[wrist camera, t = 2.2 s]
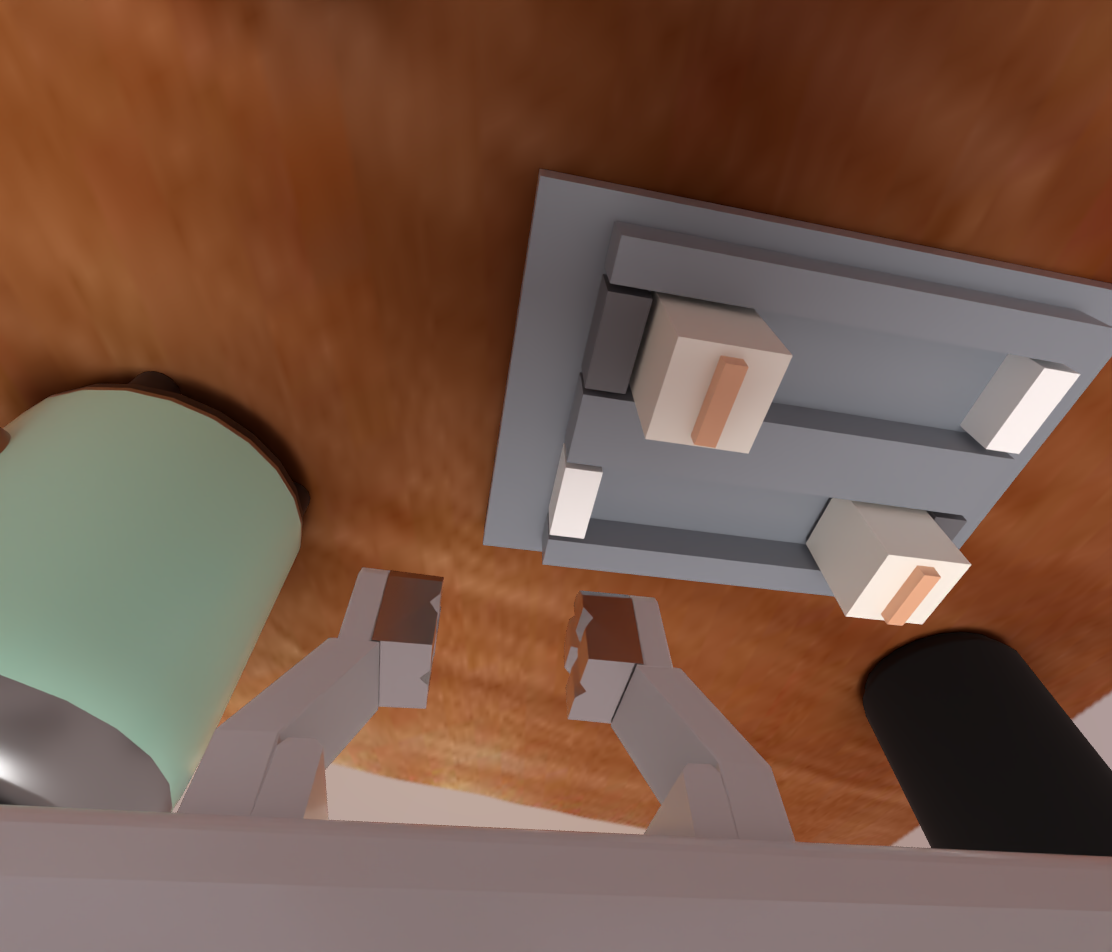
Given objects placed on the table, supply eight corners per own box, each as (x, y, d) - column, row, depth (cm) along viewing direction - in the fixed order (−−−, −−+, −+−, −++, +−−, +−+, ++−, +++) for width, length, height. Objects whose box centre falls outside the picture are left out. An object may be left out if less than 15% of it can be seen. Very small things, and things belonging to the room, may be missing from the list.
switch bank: (539, 168, 22) (540, 186, 20) (1127, 286, 26) (1200, 316, 23) (484, 526, 33) (480, 572, 30) (910, 576, 36) (942, 621, 34)
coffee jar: (853, 727, 46) (1000, 1041, 32) (857, 643, 40) (1042, 985, 26) (999, 702, 45) (1222, 1018, 30) (1026, 611, 39) (1323, 953, 24)
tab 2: (839, 484, 30) (895, 564, 25) (912, 494, 30) (979, 574, 26) (805, 543, 32) (851, 626, 27) (873, 551, 32) (929, 634, 28)
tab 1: (652, 285, 23) (682, 344, 19) (748, 302, 24) (799, 363, 19) (627, 376, 26) (648, 448, 21) (714, 389, 26) (753, 462, 22)
